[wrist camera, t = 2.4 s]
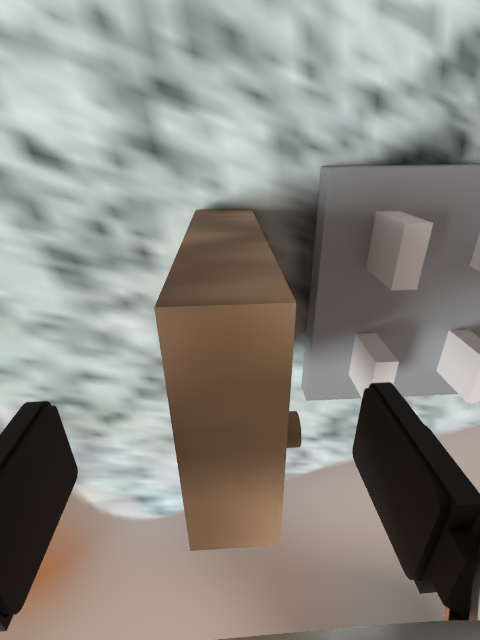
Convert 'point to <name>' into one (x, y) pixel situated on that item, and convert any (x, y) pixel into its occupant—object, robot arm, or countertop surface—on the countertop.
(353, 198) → the hinge base
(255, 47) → the countertop surface
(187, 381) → the door
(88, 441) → the countertop surface
